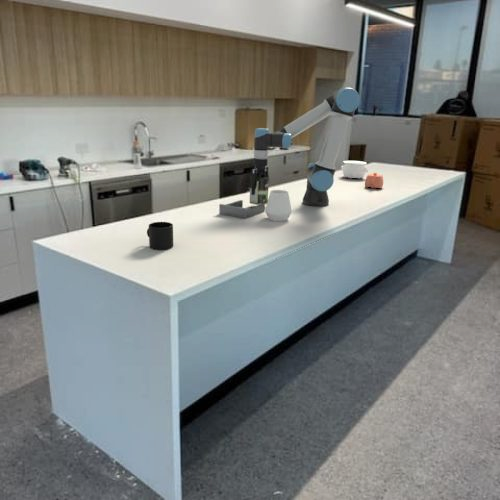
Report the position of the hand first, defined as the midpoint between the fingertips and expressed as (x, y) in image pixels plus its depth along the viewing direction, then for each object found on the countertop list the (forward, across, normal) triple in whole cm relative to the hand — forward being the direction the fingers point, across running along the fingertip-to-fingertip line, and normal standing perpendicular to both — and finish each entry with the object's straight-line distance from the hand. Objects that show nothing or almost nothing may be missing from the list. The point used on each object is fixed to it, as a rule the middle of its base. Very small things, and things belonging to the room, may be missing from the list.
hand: (258, 198), depth 253 cm
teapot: (+4, -101, +32) cm, 106 cm away
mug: (+5, +84, +4) cm, 84 cm away
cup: (+5, +16, +21) cm, 27 cm away
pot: (+4, -132, +6) cm, 132 cm away
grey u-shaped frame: (+5, +16, 0) cm, 17 cm away
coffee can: (+3, 0, 0) cm, 3 cm away
